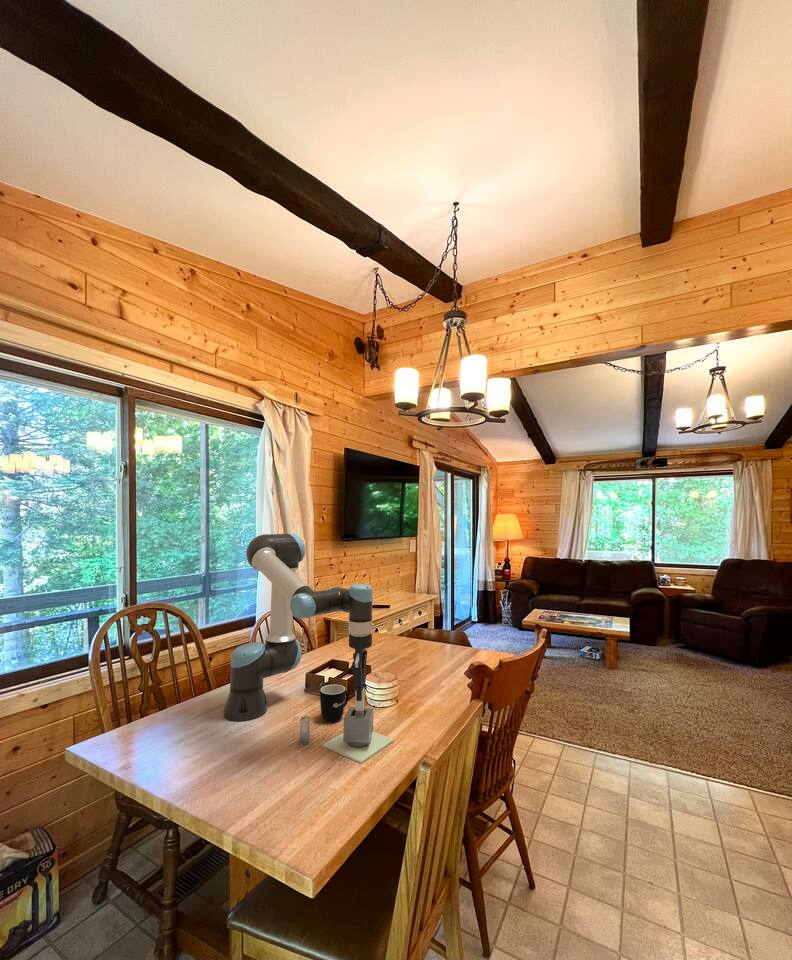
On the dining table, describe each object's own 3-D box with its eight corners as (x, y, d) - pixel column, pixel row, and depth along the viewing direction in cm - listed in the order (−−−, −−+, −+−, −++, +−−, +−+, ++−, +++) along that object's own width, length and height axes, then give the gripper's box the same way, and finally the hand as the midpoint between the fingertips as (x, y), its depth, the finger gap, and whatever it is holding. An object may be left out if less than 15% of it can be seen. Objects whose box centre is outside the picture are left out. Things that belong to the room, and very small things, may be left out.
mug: (331, 727, 148) (331, 696, 149) (314, 719, 154) (315, 689, 155) (356, 715, 158) (356, 686, 158) (339, 708, 163) (339, 680, 164)
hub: (322, 746, 136) (323, 715, 137) (356, 727, 149) (357, 698, 149) (361, 763, 126) (361, 730, 127) (394, 741, 139) (394, 710, 140)
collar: (343, 741, 134) (343, 717, 135) (348, 729, 142) (349, 706, 143) (368, 743, 133) (369, 719, 134) (373, 730, 141) (373, 708, 142)
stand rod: (297, 743, 137) (298, 718, 138) (305, 739, 140) (305, 715, 140) (304, 746, 136) (304, 721, 136) (311, 742, 138) (312, 718, 139)
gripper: (368, 639, 134) (367, 719, 131) (375, 629, 146) (374, 701, 144) (344, 638, 134) (343, 718, 132) (353, 628, 147) (352, 700, 145)
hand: (359, 709), depth 138 cm, fingers closed
